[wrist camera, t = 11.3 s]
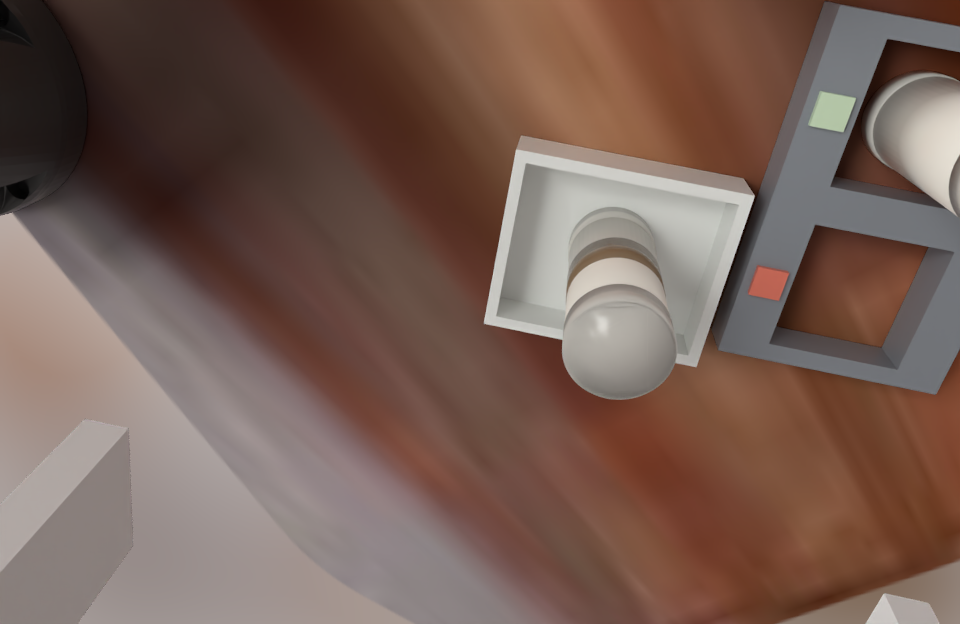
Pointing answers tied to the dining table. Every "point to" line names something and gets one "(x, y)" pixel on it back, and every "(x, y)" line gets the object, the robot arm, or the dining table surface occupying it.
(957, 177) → the fuse
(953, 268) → the fuse panel
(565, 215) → the parts tray
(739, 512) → the dining table surface
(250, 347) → the dining table surface
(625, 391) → the fuse
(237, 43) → the dining table surface
